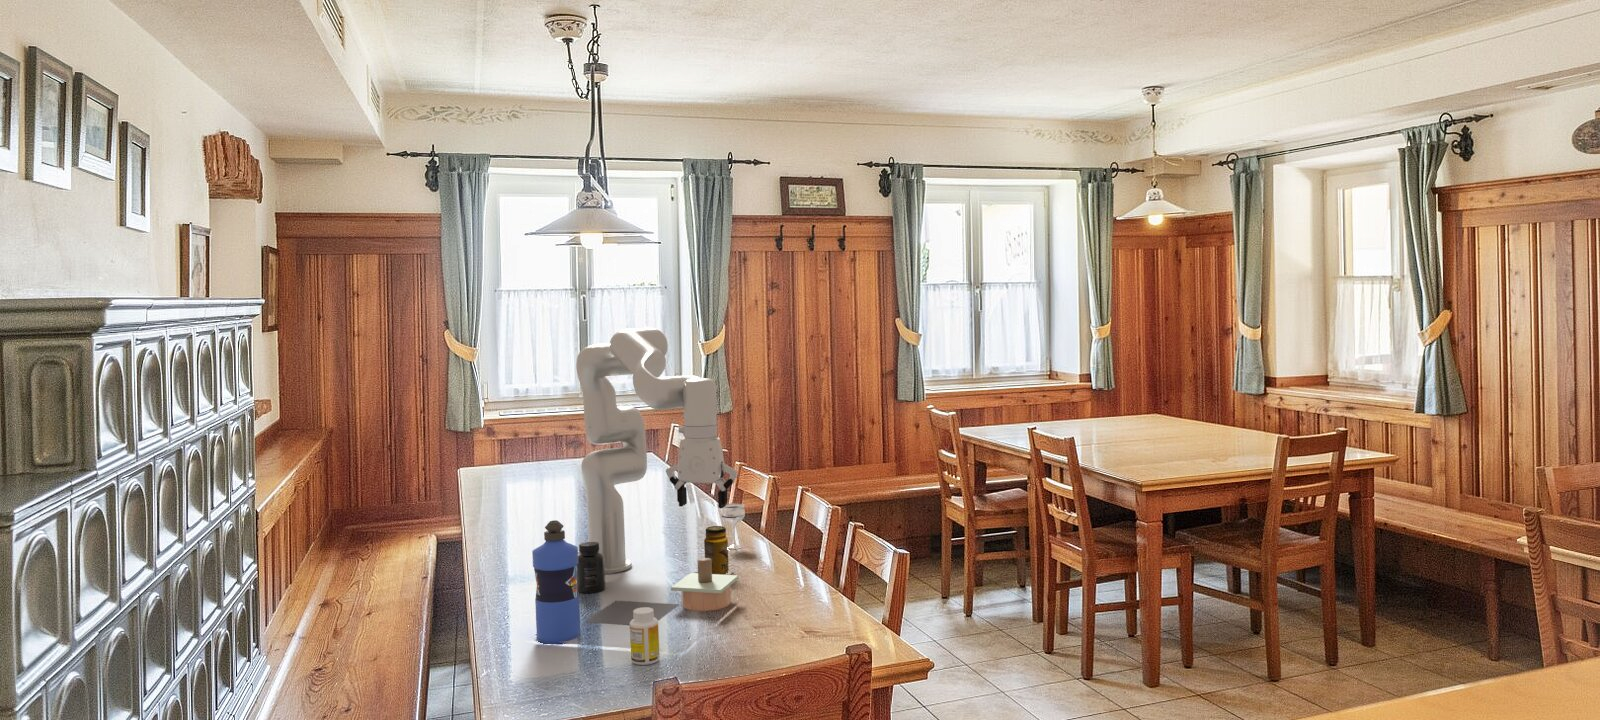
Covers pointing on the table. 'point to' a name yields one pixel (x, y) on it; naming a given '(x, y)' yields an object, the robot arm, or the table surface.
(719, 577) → the lid
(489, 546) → the table surface
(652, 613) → the supplement bottle
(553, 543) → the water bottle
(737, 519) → the wineglass
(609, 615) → the mat
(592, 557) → the supplement bottle
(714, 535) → the condiment
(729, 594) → the bowl
